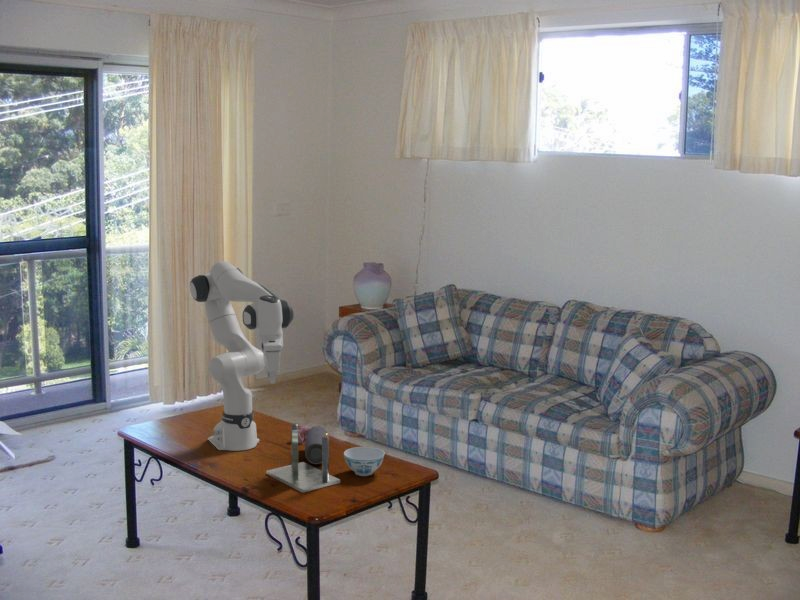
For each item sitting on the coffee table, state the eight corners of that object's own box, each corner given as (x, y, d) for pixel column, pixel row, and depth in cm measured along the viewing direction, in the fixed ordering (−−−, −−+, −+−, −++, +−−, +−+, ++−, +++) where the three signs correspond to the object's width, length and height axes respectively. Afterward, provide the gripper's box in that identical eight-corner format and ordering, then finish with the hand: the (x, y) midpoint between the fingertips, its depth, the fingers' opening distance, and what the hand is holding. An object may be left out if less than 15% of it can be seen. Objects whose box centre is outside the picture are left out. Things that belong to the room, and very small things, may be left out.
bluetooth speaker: (305, 448, 348) (305, 424, 346) (329, 448, 349) (329, 424, 347) (303, 467, 325) (303, 442, 324) (328, 467, 326) (328, 441, 325)
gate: (292, 465, 321) (292, 430, 319) (297, 465, 322) (297, 430, 320) (292, 480, 306) (292, 443, 304) (298, 480, 306) (298, 443, 304)
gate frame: (266, 473, 318) (266, 424, 315) (303, 464, 328) (303, 416, 326) (302, 492, 300) (302, 440, 297) (340, 482, 310) (340, 432, 307)
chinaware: (337, 477, 316) (337, 456, 315) (353, 464, 330) (353, 444, 329) (375, 482, 311) (375, 461, 310) (390, 469, 325) (390, 449, 324)
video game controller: (312, 441, 362) (306, 425, 363) (319, 438, 360) (313, 422, 361) (295, 446, 355) (289, 430, 356) (302, 444, 352) (296, 427, 353)
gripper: (259, 337, 315) (260, 374, 317) (264, 347, 295) (265, 387, 297) (276, 336, 317) (277, 373, 318) (282, 346, 297) (283, 386, 299)
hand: (271, 380), depth 308 cm, fingers open, 8 cm apart
